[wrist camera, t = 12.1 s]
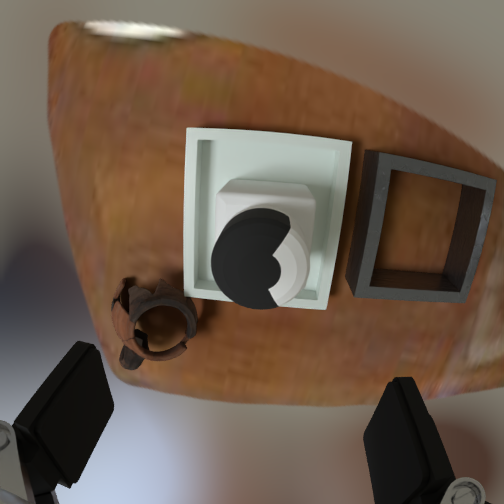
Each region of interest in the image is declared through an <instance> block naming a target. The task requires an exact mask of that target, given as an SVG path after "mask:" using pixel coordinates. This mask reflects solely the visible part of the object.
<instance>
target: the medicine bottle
mask: <svg viewBox="0 0 504 504" xmlns="http://www.w3.org/2000/svg"><path fill="white" fill-rule="evenodd" d="M315 211H316V200H315V198H314V197H313V195H312V194H311V192H310V190H309V189H308V187H307V186H306V185H304V184H295V183H283V182H270V181H256V180H239V179H231V180H230V181H228V182H227V183H226V184H225V185H224V186H223V187H222V189H221V190H220V191H219V192H218V193H217V194H216V206H215V245H214V248H213V251H212V255H211V270H212V275H213V278H214V280H215V282H216V284H217V286H218V287H219V289H220V290H221V291H222V292H223V294H224V295H225V296H227V297H228V298H229V299H230V300H232V301H233V302H235V303H237V304H239V305H241V306H244V307H247V308H252V309H260V310H261V309H271V308H276V307H279V306H282V305H284V304H286V303H288V302H289V301H291V300H292V299H293V298H295V297H296V296H297V295H298V294H299V293H300V292H301V290H302V289H304V288H305V287H306V283H307V279H308V277H309V272H310V253H311V245H312V237H313V229H314V220H315Z"/></svg>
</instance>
